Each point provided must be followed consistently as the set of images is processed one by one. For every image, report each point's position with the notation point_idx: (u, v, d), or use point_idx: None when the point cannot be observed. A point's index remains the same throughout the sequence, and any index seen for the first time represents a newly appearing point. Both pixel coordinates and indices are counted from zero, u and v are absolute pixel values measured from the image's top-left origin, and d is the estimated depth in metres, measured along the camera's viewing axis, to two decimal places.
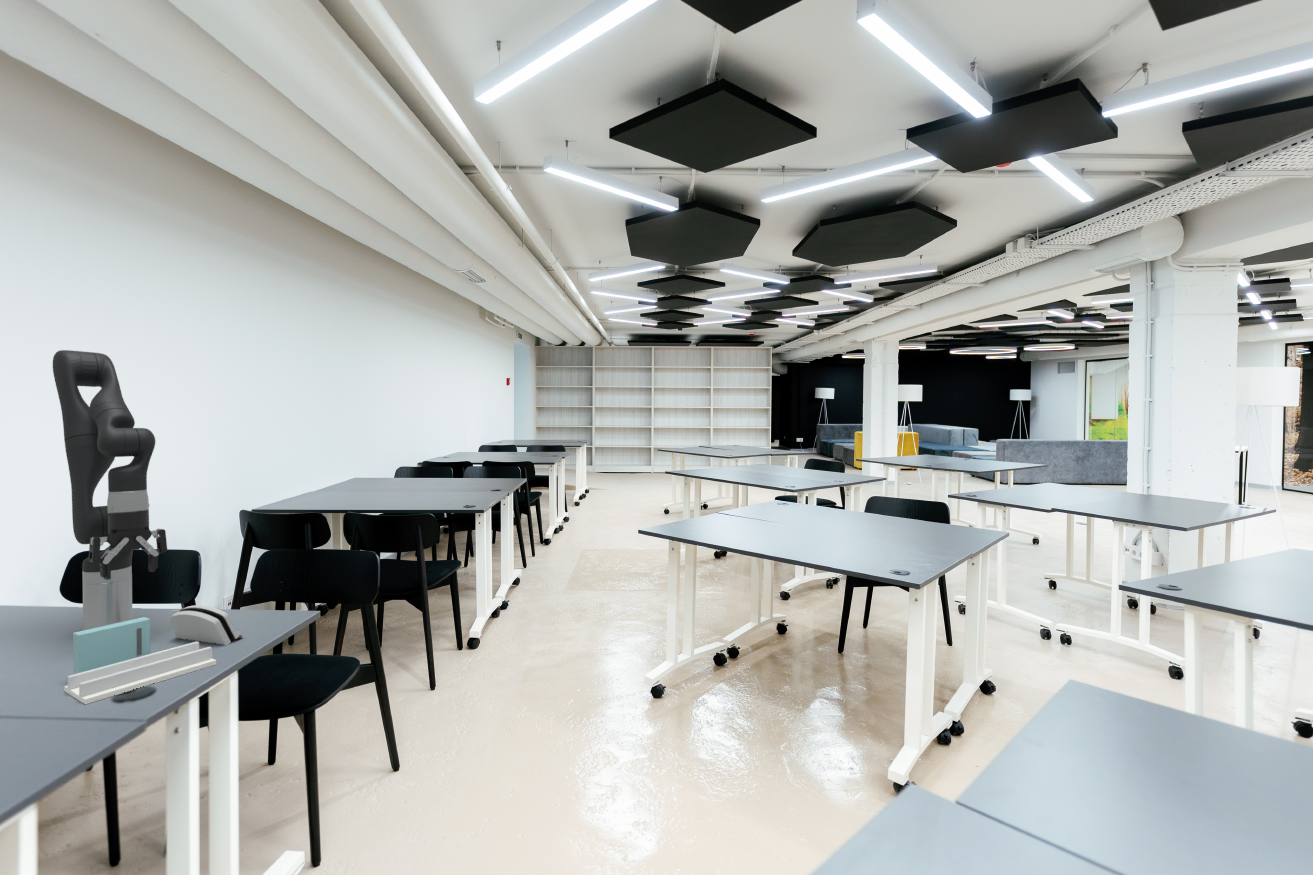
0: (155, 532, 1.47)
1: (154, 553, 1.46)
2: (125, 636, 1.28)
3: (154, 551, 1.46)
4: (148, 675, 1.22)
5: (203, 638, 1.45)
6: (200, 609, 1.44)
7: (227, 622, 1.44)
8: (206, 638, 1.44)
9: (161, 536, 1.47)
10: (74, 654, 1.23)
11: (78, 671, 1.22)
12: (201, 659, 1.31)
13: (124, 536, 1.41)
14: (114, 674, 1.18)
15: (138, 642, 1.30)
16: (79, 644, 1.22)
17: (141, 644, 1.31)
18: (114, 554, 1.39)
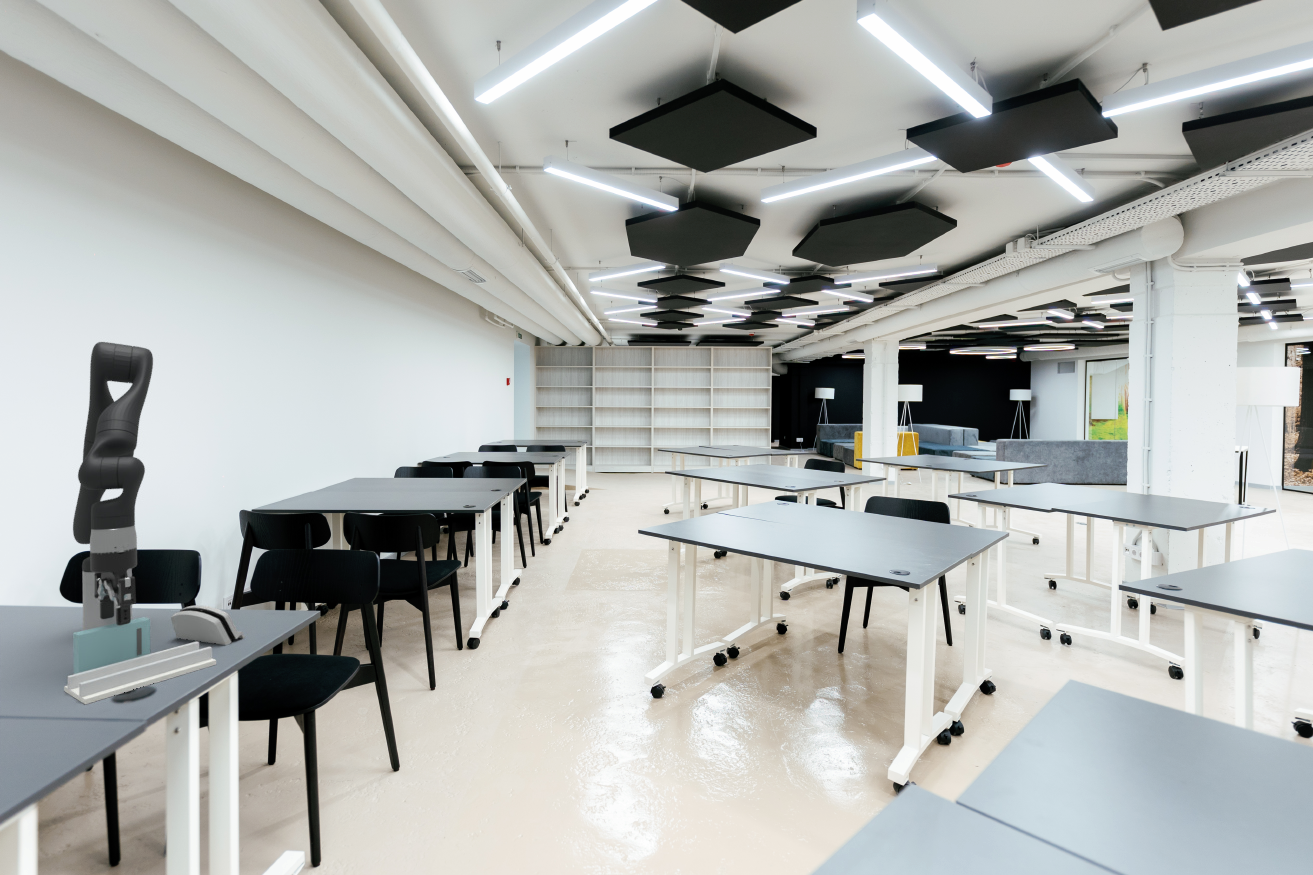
0: None
1: None
2: (125, 637, 1.28)
3: None
4: (148, 675, 1.22)
5: (204, 638, 1.44)
6: (200, 609, 1.44)
7: (227, 622, 1.44)
8: (206, 638, 1.44)
9: None
10: (74, 654, 1.23)
11: (78, 671, 1.22)
12: (201, 659, 1.31)
13: None
14: (114, 674, 1.18)
15: (138, 641, 1.30)
16: (79, 644, 1.22)
17: (141, 644, 1.31)
18: (130, 594, 1.28)
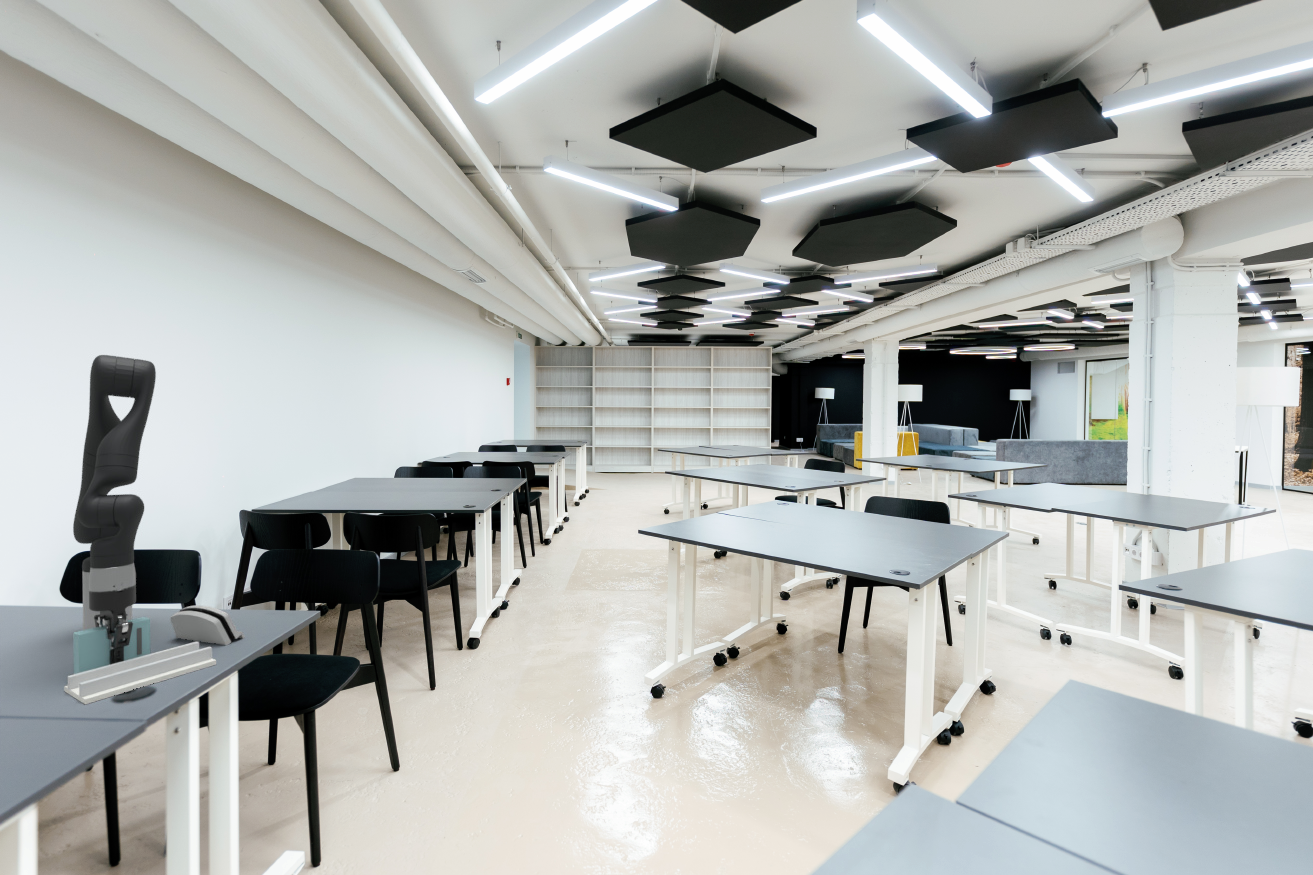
0: None
1: None
2: None
3: None
4: (148, 675, 1.22)
5: (204, 638, 1.44)
6: (200, 609, 1.44)
7: (227, 622, 1.44)
8: (206, 638, 1.44)
9: None
10: (75, 654, 1.23)
11: (78, 671, 1.22)
12: (201, 659, 1.31)
13: None
14: (114, 674, 1.18)
15: (138, 641, 1.30)
16: (79, 644, 1.22)
17: (141, 643, 1.31)
18: None
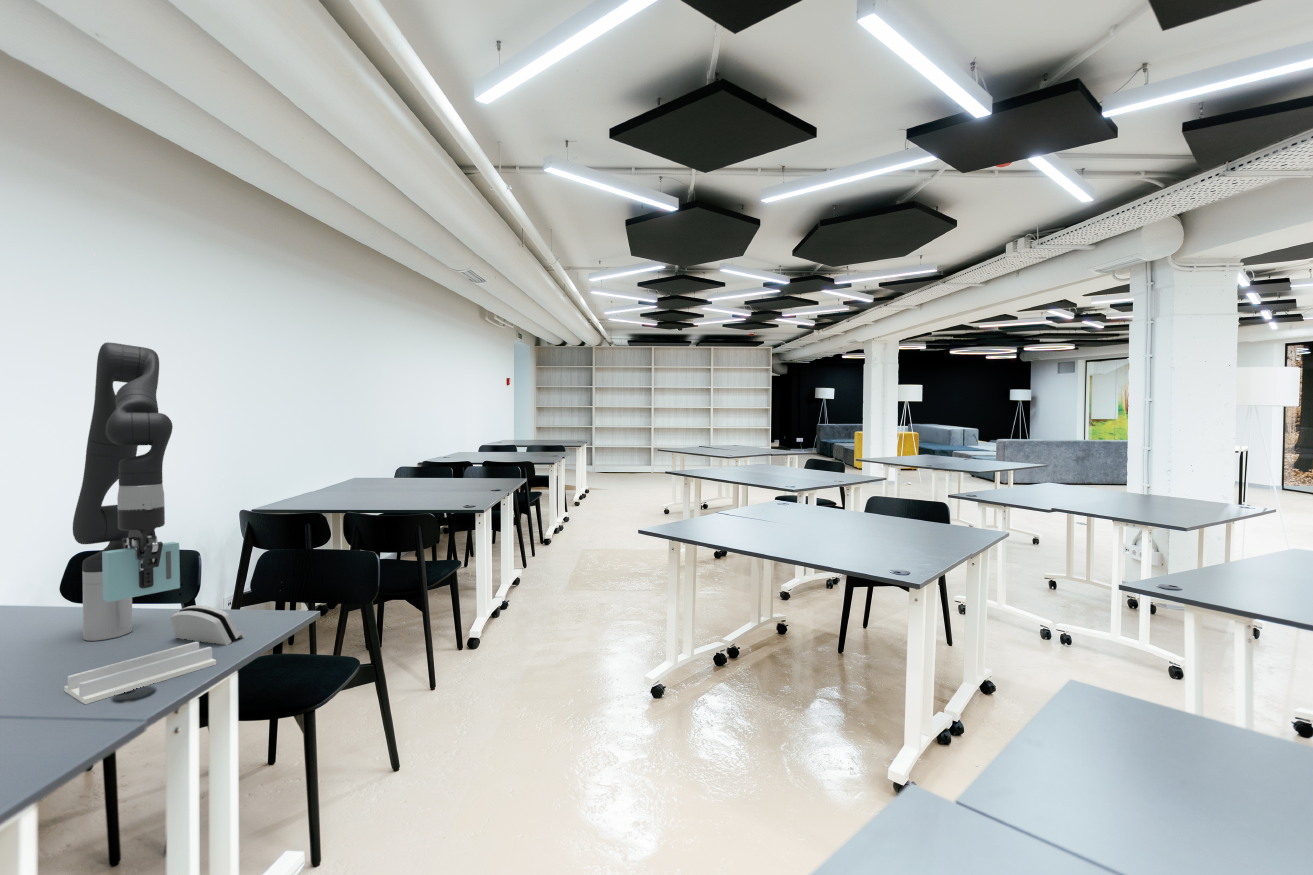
0: None
1: None
2: None
3: None
4: (148, 675, 1.22)
5: (204, 638, 1.45)
6: (200, 609, 1.44)
7: (228, 622, 1.44)
8: (206, 638, 1.44)
9: None
10: (104, 574, 1.19)
11: (108, 590, 1.19)
12: (201, 659, 1.31)
13: None
14: (114, 674, 1.18)
15: (167, 565, 1.27)
16: (109, 562, 1.18)
17: (170, 567, 1.27)
18: None
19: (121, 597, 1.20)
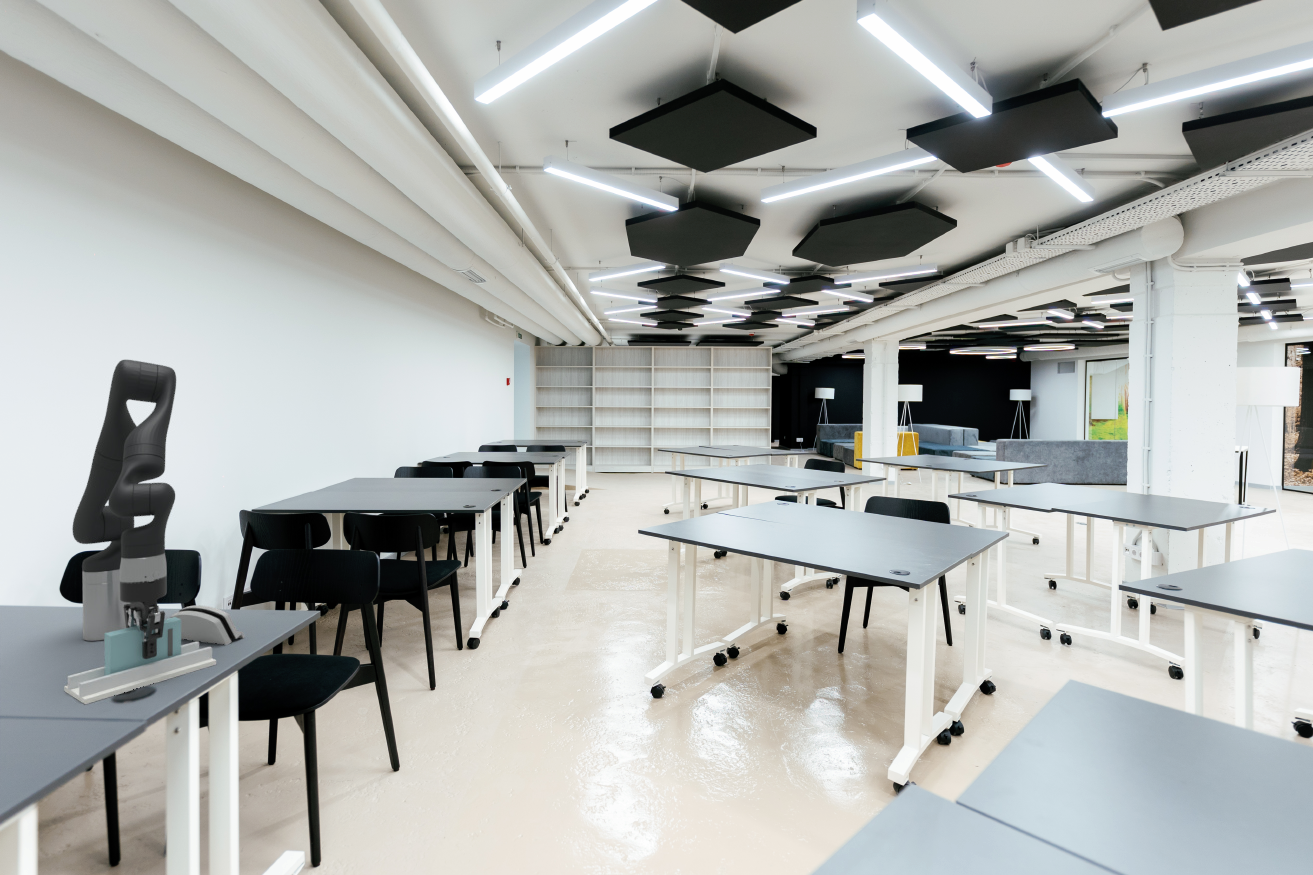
0: None
1: None
2: None
3: None
4: (148, 675, 1.22)
5: (204, 638, 1.45)
6: (200, 609, 1.44)
7: (228, 622, 1.44)
8: (206, 638, 1.44)
9: None
10: (106, 655, 1.20)
11: (110, 673, 1.19)
12: (201, 659, 1.31)
13: None
14: (114, 674, 1.18)
15: (169, 642, 1.27)
16: (111, 645, 1.19)
17: (172, 644, 1.28)
18: None
19: None
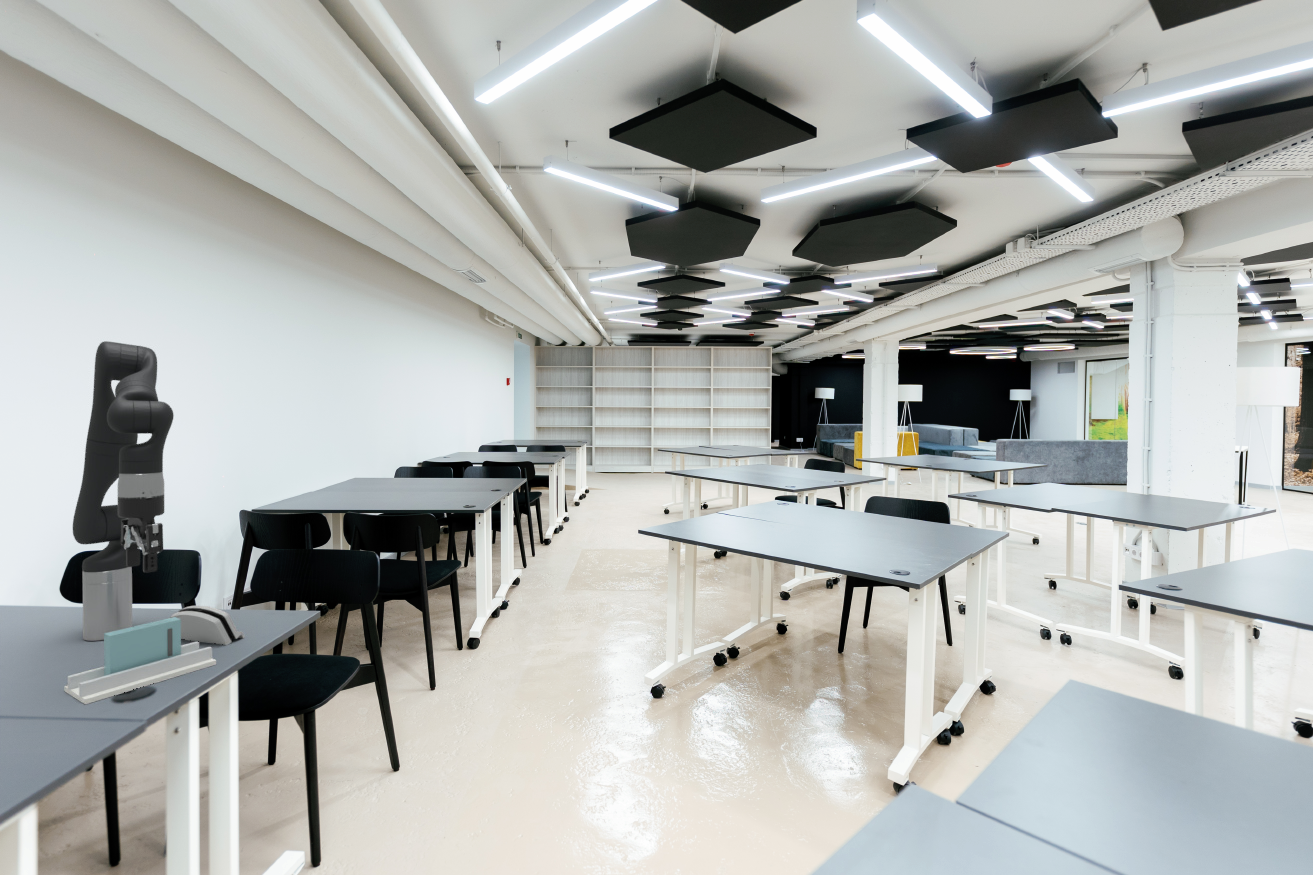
0: None
1: None
2: (156, 637, 1.25)
3: None
4: (148, 675, 1.22)
5: (204, 638, 1.44)
6: (200, 609, 1.44)
7: (228, 622, 1.44)
8: (206, 639, 1.44)
9: None
10: (106, 655, 1.20)
11: (109, 673, 1.19)
12: (201, 659, 1.31)
13: None
14: (114, 674, 1.18)
15: (168, 642, 1.27)
16: (111, 645, 1.19)
17: (172, 644, 1.28)
18: (157, 542, 1.24)
19: None
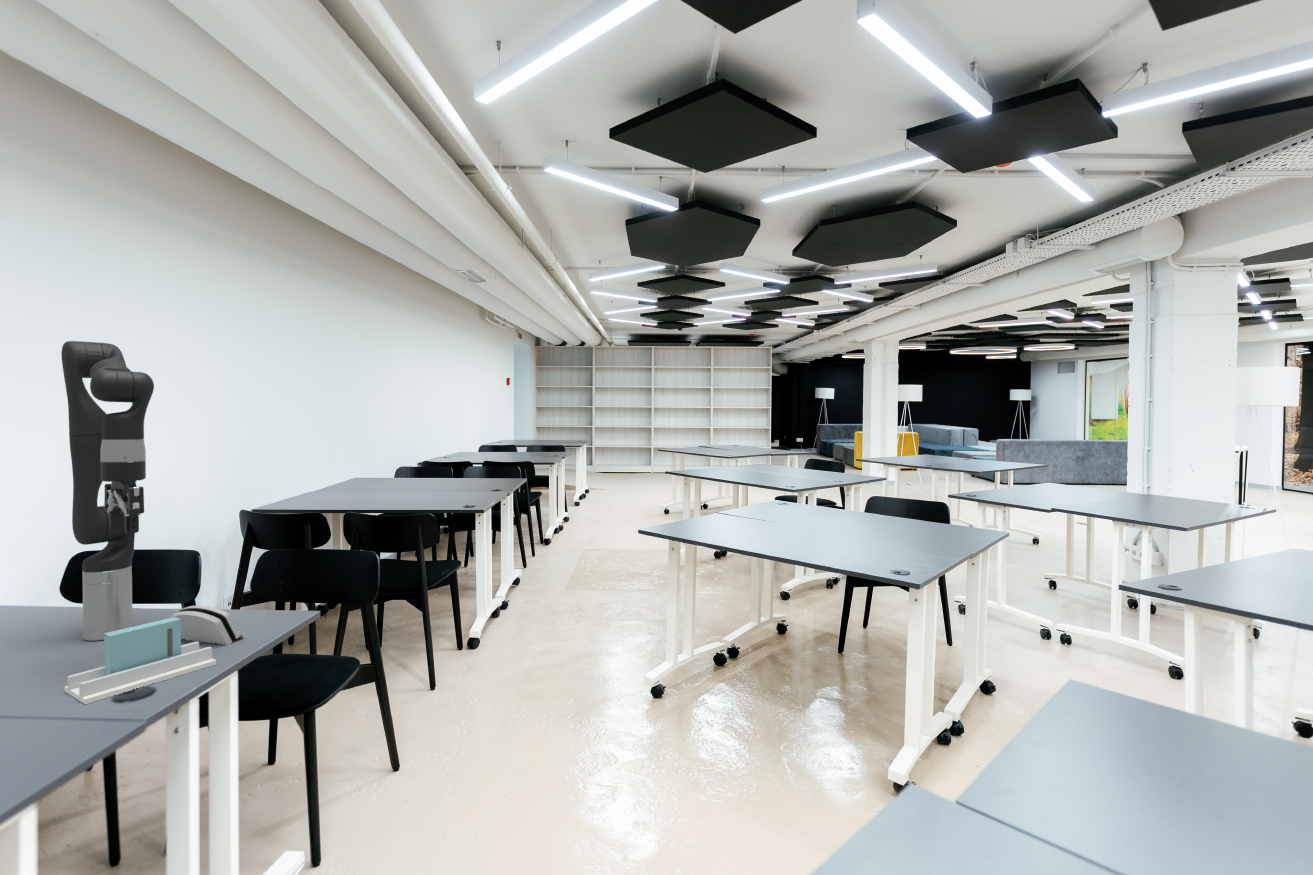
0: None
1: (122, 508, 1.35)
2: (156, 637, 1.25)
3: None
4: (148, 675, 1.22)
5: (204, 638, 1.44)
6: (201, 609, 1.44)
7: (228, 622, 1.44)
8: (206, 639, 1.44)
9: None
10: (106, 655, 1.20)
11: (109, 673, 1.19)
12: (201, 659, 1.31)
13: None
14: (114, 674, 1.18)
15: (168, 642, 1.27)
16: (111, 645, 1.19)
17: (172, 644, 1.28)
18: None
19: None
